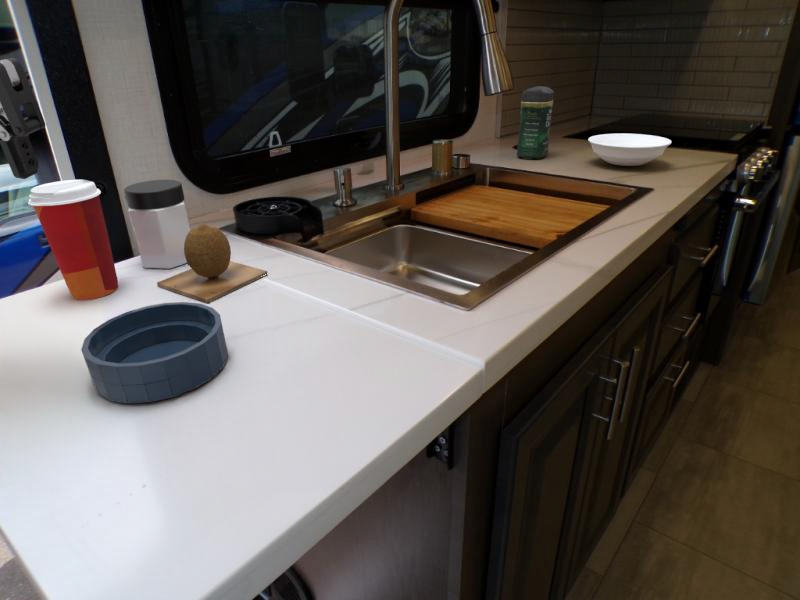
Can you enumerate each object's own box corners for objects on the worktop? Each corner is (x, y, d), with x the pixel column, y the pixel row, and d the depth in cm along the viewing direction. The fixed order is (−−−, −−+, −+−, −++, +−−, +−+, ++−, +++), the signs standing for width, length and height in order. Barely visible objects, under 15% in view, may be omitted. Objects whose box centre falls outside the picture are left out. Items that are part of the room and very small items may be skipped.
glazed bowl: (69, 379, 54) (55, 342, 52) (178, 325, 64) (170, 292, 62) (144, 422, 48) (132, 382, 46) (253, 355, 58) (247, 319, 56)
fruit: (180, 283, 74) (168, 229, 71) (209, 266, 80) (199, 215, 76) (217, 288, 72) (205, 233, 69) (244, 271, 77) (234, 219, 74)
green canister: (541, 161, 143) (547, 88, 135) (513, 158, 147) (518, 87, 139) (551, 154, 151) (558, 85, 142) (524, 152, 154) (529, 84, 146)
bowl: (608, 154, 149) (611, 131, 146) (680, 163, 136) (685, 138, 133) (570, 165, 137) (573, 140, 134) (645, 177, 124) (650, 149, 121)
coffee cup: (108, 274, 79) (79, 175, 73) (138, 286, 75) (110, 182, 68) (50, 295, 73) (11, 189, 67) (79, 309, 69) (41, 198, 62)
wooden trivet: (157, 286, 75) (156, 282, 75) (218, 261, 83) (218, 257, 83) (207, 303, 70) (206, 299, 69) (268, 274, 78) (267, 270, 77)
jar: (182, 246, 90) (166, 176, 84) (209, 256, 85) (194, 183, 80) (130, 262, 84) (110, 188, 78) (157, 274, 79) (137, 196, 74)
